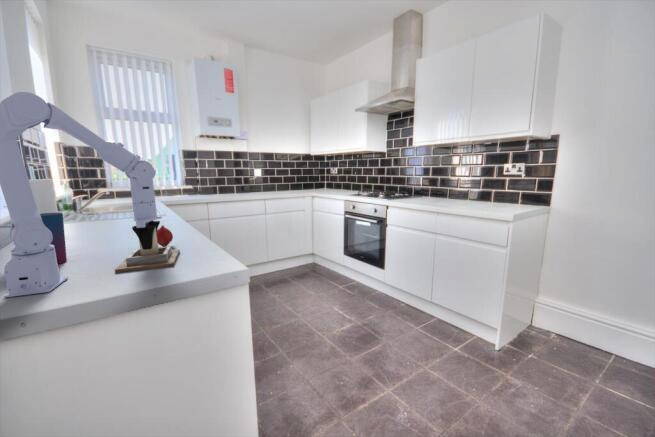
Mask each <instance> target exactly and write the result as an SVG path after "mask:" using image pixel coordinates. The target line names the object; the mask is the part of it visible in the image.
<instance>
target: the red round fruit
mask: <svg viewBox="0 0 655 437" xmlns="http://www.w3.org/2000/svg"><path fill="white" fill-rule="evenodd" d="M156 235H157V242H158V246H160V247H168V245H170V243H171V242H172V241H173V238H174V237H173V233H172V231H171V230H170V229H169V228H166V227H165V225H161V226H159V227H158V229H157V234H156Z"/></svg>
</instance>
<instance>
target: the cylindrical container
mask: <svg viewBox="0 0 655 437" xmlns="http://www.w3.org/2000/svg"><path fill="white" fill-rule="evenodd" d="M29 182H30V186H31V189H32V192H33V196H34V199H35V202H36V206H37V209H38V211H39V214H42V213H59V211H58V203H57V199H56V198H57V197H56V192H55V188H54V181H53V178H43V179H41V178H39V179H34V178H33V179H29Z"/></svg>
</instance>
